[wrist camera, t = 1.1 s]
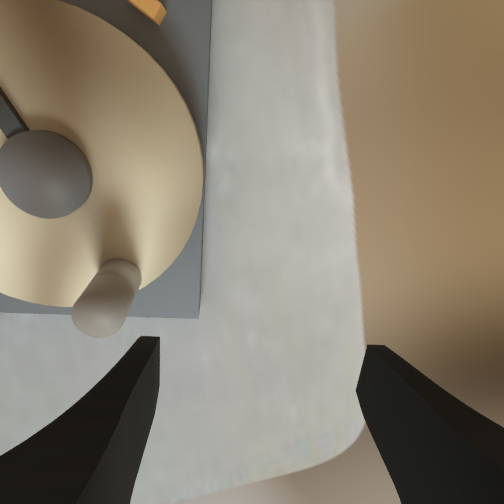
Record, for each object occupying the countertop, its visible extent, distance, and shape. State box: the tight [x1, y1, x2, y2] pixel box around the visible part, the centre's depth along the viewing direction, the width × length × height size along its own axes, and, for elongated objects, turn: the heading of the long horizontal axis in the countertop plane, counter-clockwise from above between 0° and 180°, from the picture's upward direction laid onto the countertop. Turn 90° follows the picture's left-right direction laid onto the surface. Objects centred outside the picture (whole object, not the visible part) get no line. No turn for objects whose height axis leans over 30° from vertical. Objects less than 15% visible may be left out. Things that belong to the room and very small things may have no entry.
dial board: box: [0, 0, 212, 319], centre depth 17 cm, size 14×16×3 cm
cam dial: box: [0, 0, 204, 338], centre depth 15 cm, size 13×13×5 cm
